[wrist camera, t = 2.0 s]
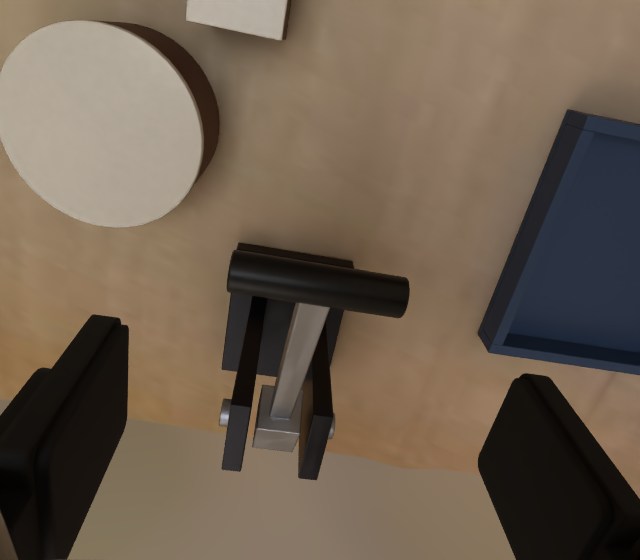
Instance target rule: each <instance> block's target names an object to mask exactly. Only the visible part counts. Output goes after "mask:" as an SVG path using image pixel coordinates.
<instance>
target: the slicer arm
mask: <svg viewBox="0 0 640 560" xmlns="http://www.w3.org/2000/svg"><path fill="white" fill-rule="evenodd" d="M227 291H228V292H230V293H237V294H243V295H250V296H256V297H263V298H270V299H276V300H283V301H289V302H296V304H295V308H294V312H293V316H292V320H291V324H290V328H289V332H288V336H287V339H286V343H285V347H284V351H283V355H282V359H281V363H280V367H279V371H278V375H277V379H276V383H275V386H269V385H262V389H261V394H260V399H259V404H258V410H257V417H256V424H255V431H254V438H253V446H252V447H253V448H260V449H268V450H277V451H285V452H293V449H294V447H295V445H296V442H297V440H298V438H299V435H300V430H301V418H302V406H303V393H304V391H303V390H301V388H302V385H303V382H304V379H305V377H306V374H307V371H308V368H309V365H310V363H311V360H312V357H313V354H314V351H315V349H316V346H317V343H318V340H319V337H320V334H321V332H322V329H323V326H324V323H325V320H326V318H327V315H328V312H329V309H330V308H335V309H342V310H348V311H355V312H361V313H368V314H374V315H381V316H387V317H394V318H401V317H402V316H403V315H404V313H405V311H406V308H407V305H408V301H409V292H410V288H409V281H408V279H407V278H406V277H401V276H394V275H388V274H382V273H376V272H370V271H364V270H358V269H351V268H345V267H339V266H333V265H327V264H321V263H315V262H308V261H302V260H296V259H290V258H284V257H278V256H272V255H265V254H259V253H253V252H247V251H241V250H234V251H233V253H232V256H231V260H230V266H229V272H228V279H227Z"/></svg>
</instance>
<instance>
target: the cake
mask: <svg viewBox="0 0 640 560" xmlns="http://www.w3.org/2000/svg"><path fill="white" fill-rule="evenodd" d="M218 136H219V114H218V107H217V103H216V99H215V96H214V93H213V90H212V87H211V85H210V83H209V81H208V79H207V77H206V75H205V74H204V72H203V71H202V69H201V68H200V66H199V65H198V64H197V62H196V61H195V60H194V59H193V57H192V56H191V55H190V54H189V53H188V52H187V51H186V50H185V49H184V48H182V47H181V46H180V45H179V44H177V43H176V42H175V41H173V40H172V39H170V38H169V37H167V36H165V35H164V34H162V33H160V32H158V31H155V30H153V29H151V28H148V27H144V26H141V25H137V24H130V23H120V22H105V21H90V20H69V21H63V22H56V23H53V24H50V25H47V26H44V27H42V28H40V29H38V30H36V31H34V32H33V33H31V34H30V35H28V36H27V37H26V38H24V39H23V40H22V41H21V42H20V43H19V44H18V45H17V46H16V47H15V48H14V49H13V50H12V52H11V53H10V55H9V56H8V58H7V59H6V61H5V63H4V65H3V67H2V70H1V72H0V138H1V141H2V144H3V146H4V148H5V151H6V153H7V155H8V157H9V159H10V160H11V162H12V164H13V166H14V167H15V169H16V170H17V171H18V173H19V174H20V176H21V177H22V178H23V180H24V181H25V182H26V183H27V184H28V185H29V186H30V187H31V189H32V190H33V191H35V192H36V193H37V194H38V195H39V196H40V197H41V198H42V199H44V200H45V201H46V202H48V203H49V204H50V205H52V206H53V207H54V208H56V209H58V210H60V211H61V212H63V213H65V214H67V215H69V216H71V217H73V218H75V219H77V220H80V221H83V222H86V223H89V224H94V225H98V226H104V227H113V228H121V227H133V226H139V225H143V224H146V223H150V222H152V221H154V220H157V219H159V218H161V217H162V216H164V215H166V214H167V213H169V212H170V211H171V210H173V209H174V208H175V207H176V206H177V205H178V204H179V203H180V202H181V201H182V200H183V199H184V198H185V196H186V195H187V194H188V192H189V191H190V190H191V188H192V187H193V186H194V184H195V183H196V182H197V180H198V179H199V178H200V176H201V175H202V173H203V172H204V171H205V169H206V168H207V166H208V165H209V163H210V161H211V159H212V157H213V155H214V152H215V149H216V146H217V142H218Z"/></svg>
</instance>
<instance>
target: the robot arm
mask: <svg viewBox="0 0 640 560" xmlns="http://www.w3.org/2000/svg"><path fill="white" fill-rule="evenodd" d="M128 345H129V328H128V326H127V325H121V321H120V319H119V318H116V317H109V316H101V315H92V316H91V317H90V318H89V319H88V320H87V322H86V323H85V325H84V326H83V327H82V329H81V330H80V331H79V333H78V334H77V335H76V337H75V338H74V339H73V341H72V342H71V343H70V345H69V346H68V347H67V349H66V350H65V351H64V353H63V354H62V355H61V357H60V358H59V359H58V361H57V362H56V363H55V365H54V366H53V367H52V369H49V368H40V369H38V370H37V371H36V372H35V373H34V374H33V375H32V376H31V377H30V379H29V380H28V381H27V382H26V384H25V385H24V386H23V388H22V389H21V390H20V391H19V393H18V394H17V395H16V396H15V398H14V399H13V400H12V402H11V403H10V404H9V406H8V407H7V408H6V409H5V410H4V412H3V413H2V414H1V415H0V560H67V558H68V556H69V553H70V551H71V549H72V547H73V544H74V542H75V540H76V538H77V535H78V533H79V531H80V529H81V526H82V524H83V522H84V519H85V517H86V515H87V513H88V511H89V508H90V506H91V504H92V502H93V499H94V497H95V494H96V493H97V490H98V488H99V486H100V484H101V481H102V479H103V477H104V474H105V472H106V470H107V468H108V465H109V463H110V461H111V459H112V457H113V454H114V452H115V450H116V447H117V445H118V443H119V441H120V439H121V436H122V434H123V432H124V429H125V425H126V421H127V401H128ZM478 468H479V472H480V474H481V476H482V479H483V481H484V484H485V486H486V489H487V491H488V493H489V496H490V498H491V501H492V503H493V505H494V508H495V510H496V512H497V515H498V517H499V520H500V522H501V525H502V527H503V529H504V532H505V534H506V536H507V539H508V541H509V544H510V546H511V549H512V551H513V553H514V556H515V558H516V560H640V499H639V498H638V496H637V495H636V493H635V492H634V491H633V489H632V488H631V487H630V485H629V484H628V483H627V481H626V480H625V479H624V477H623V476H622V475H621V473H620V472H619V470H618V469H617V468H616V466H615V465H614V464H613V462H612V461H611V460H610V458H609V457H608V456H607V454H606V453H605V451H604V450H603V449H602V447H601V446H600V445H599V443H598V442H597V441H596V439H595V438H594V437H593V435H592V434H591V433H590V431H589V430H588V428H587V427H586V426H585V424H584V423H583V422H582V420H581V419H580V418H579V416H578V415H577V414H576V412H575V411H574V410H573V408H572V407H571V405H570V404H569V403H568V401H567V400H566V399H565V397H564V396H563V395H562V393H561V392H560V391H559V389H558V388H557V387H556V385H555V384H554V382H553V381H552V380H551V379H550V378H549V377H547V376H542V375H535V374H527V373H525V374H522V375H521V376H520V377H519V378H516V379H514V380H513V382H512V384H511V386H510V388H509V390H508V393H507V395H506V397H505V399H504V401H503V404H502V406H501V408H500V410H499V412H498V415H497V417H496V419H495V421H494V423H493V426H492V428H491V430H490V432H489V434H488V436H487V439H486V441H485V443H484V445H483V447H482V450H481V452H480V454H479V457H478Z"/></svg>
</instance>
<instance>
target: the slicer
mask: <svg viewBox="0 0 640 560" xmlns="http://www.w3.org/2000/svg"><path fill="white" fill-rule="evenodd" d="M236 250H241V251H247V252H253V253H259V254H265V255H272V256H278V257H284V258H290V259H296V260H302V261H308V262H315V263H321V264H327V265H333V266H339V267H345V268H351V269H354V266H353V262H352V261H347V260H341V259H335V258H329V257H323V256H317V255H311V254H305V253H298V252H292V251H286V250H280V249H274V248H268V247H262V246H256V245H250V244H244V243H238V246H237V249H236ZM295 304H296V302H289V301H283V300H276V299H270V298H263V297H256V296H250V295H243V294H237V293H231V297H230V305H229V313H228V321H227V329H226V337H225V345H224V353H223V361H222V370H229V371H236V372H237V375H236V380H235V385H234V390H233V395H232V399H223V403H222V407H221V413H220V419H219V426H224V427H227V434H226V441H225V448H224V455H223V462H222V469H223V470H231V471H239V472H240V471H241V468H242V462H243V456H244V450H245V444H246V438H247V432H248V426H249V420H250V414H251V408H252V401H253V394H254V387H255V380H256V374H259V375H266V376H273V377H277V375H278V371H279V367H280V363H281V359H282V355H283V351H284V347H285V343H286V339H287V336H288V332H289V328H290V324H291V320H292V316H293V312H294V308H295ZM343 312H344V310H342V309H335V308H330V309H329V312H328V315H327V318H326V320H325V323H324V326H323V329H322V332H321V334H320V337H319V340H318V343H317V346H316V349H315V351H314V354H313V357H312V360H311V363H310V365H309V368H308V371H307V374H306V377H305V379H304V382H303V385H302V388H301V390H303V391H304V393H303V406H302V418H301V430H300V435H299V467H298V468H299V469H298V477H299V478H301V479H311V480H317V478H318V473H319V470H320V466H321V462H322V459H323V455H324V451H325V448H326V444H327V440H328V439H332V437H333V435H334V430H335V414H334V413H333V404H332V391H331V378H330V364H331V360H332V356H333V352H334V348H335V344H336V340H337V336H338V332H339V328H340V324H341V320H342V316H343Z"/></svg>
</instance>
